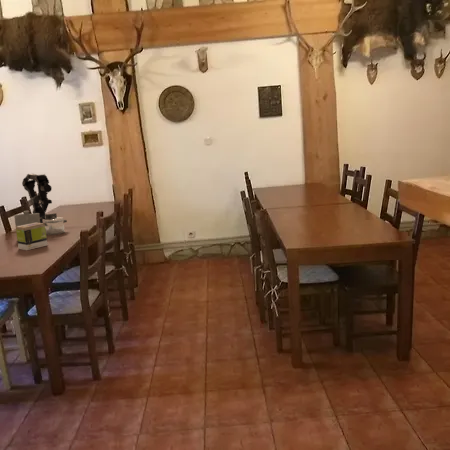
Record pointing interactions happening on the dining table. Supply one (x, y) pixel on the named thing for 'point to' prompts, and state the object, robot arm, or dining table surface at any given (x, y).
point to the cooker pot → (55, 227)
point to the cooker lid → (52, 218)
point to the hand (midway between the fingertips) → (44, 212)
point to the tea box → (31, 236)
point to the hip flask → (26, 218)
